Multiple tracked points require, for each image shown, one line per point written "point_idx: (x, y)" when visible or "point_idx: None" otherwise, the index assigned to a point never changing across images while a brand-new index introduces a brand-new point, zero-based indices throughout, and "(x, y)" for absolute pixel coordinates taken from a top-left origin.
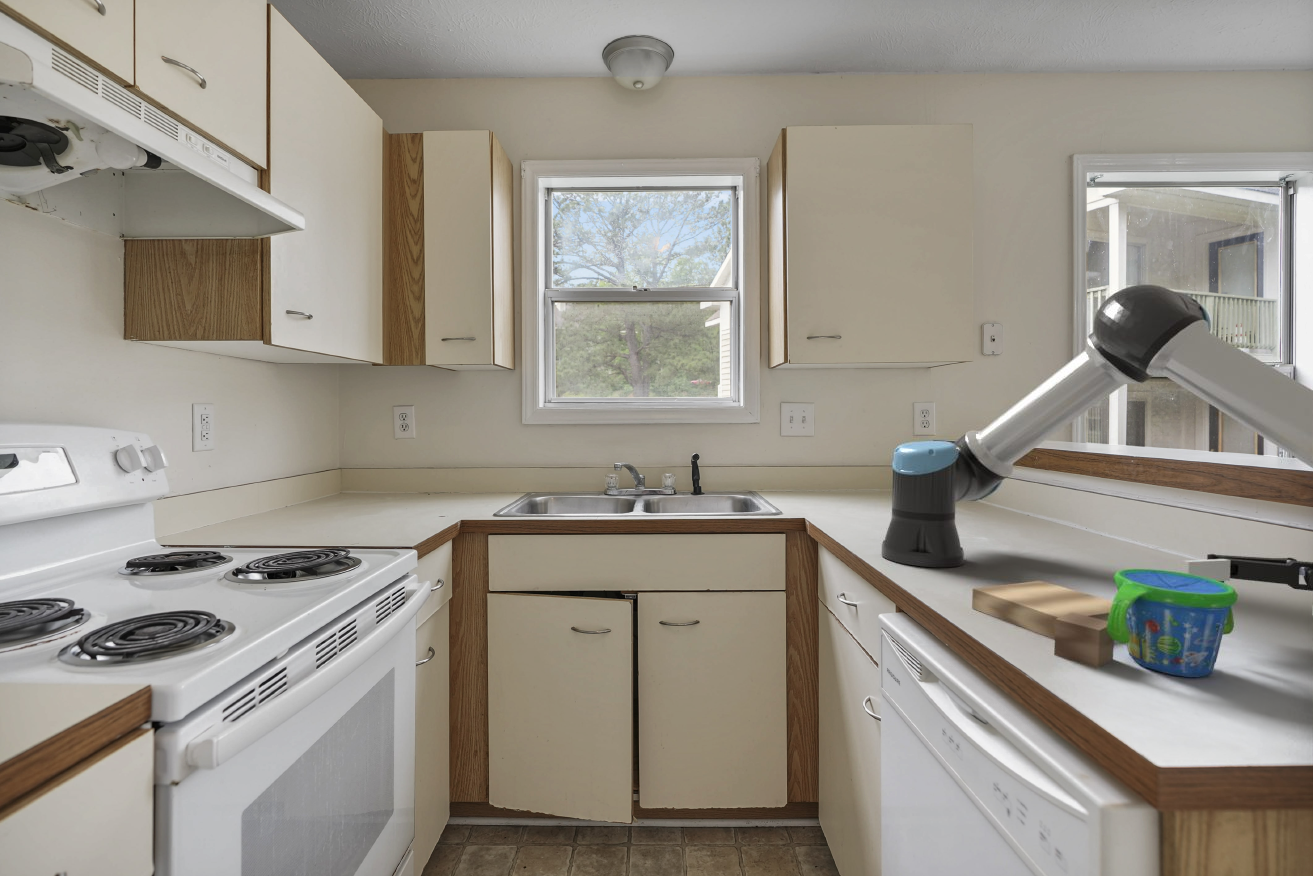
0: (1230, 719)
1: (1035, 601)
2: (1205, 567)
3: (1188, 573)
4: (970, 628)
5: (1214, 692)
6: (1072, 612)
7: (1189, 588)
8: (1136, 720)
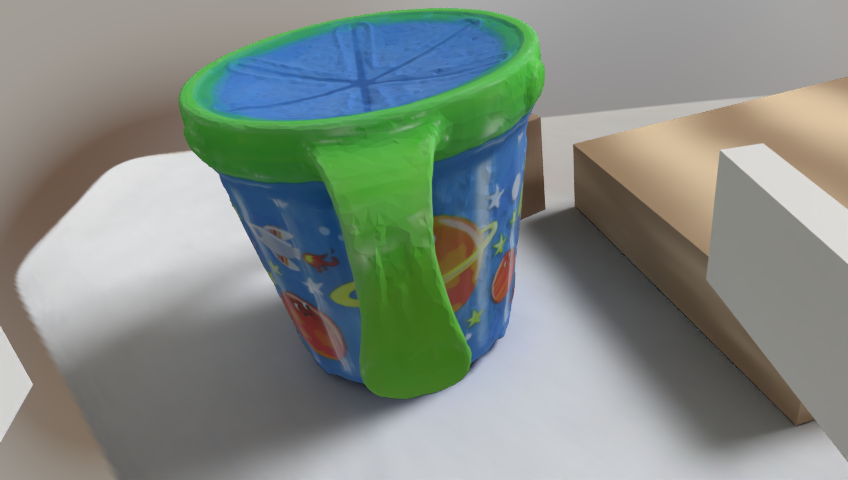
0: (146, 276)
1: (761, 137)
2: (796, 274)
3: (713, 225)
4: (645, 115)
5: (243, 322)
6: (536, 117)
7: (329, 97)
8: (208, 179)
